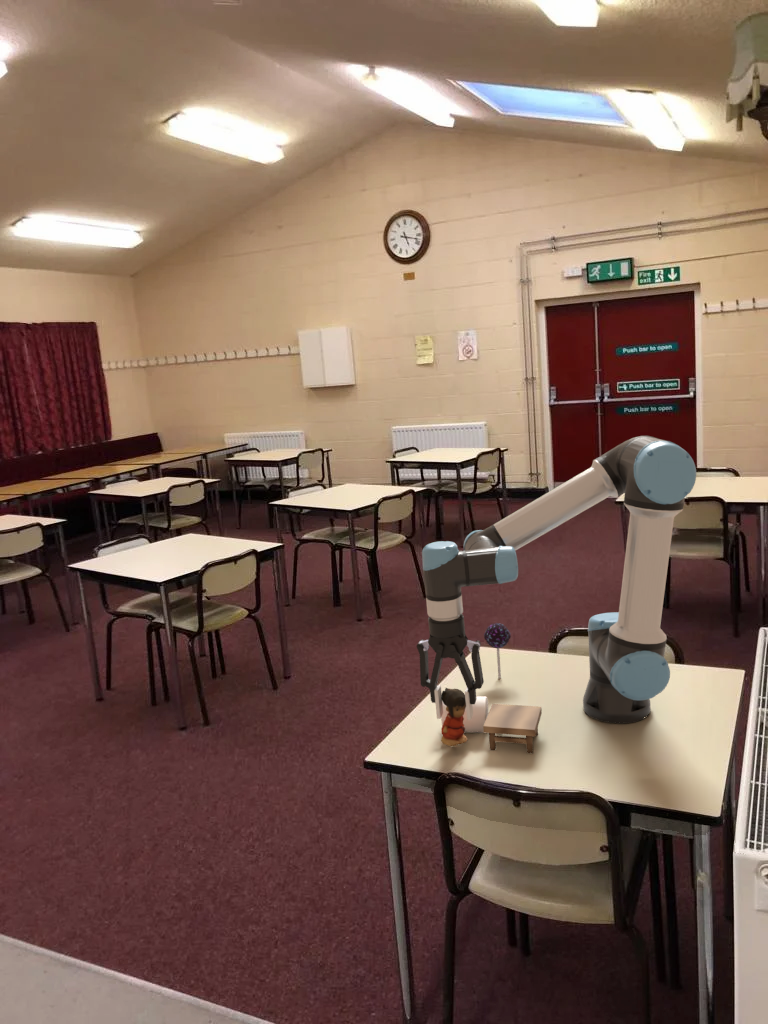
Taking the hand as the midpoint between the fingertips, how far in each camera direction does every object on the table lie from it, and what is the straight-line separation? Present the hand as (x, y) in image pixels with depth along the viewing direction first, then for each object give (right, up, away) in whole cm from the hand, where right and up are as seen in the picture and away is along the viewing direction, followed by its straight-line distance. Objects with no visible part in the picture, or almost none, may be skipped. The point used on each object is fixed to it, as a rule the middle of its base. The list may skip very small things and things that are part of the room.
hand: (455, 716), depth 171 cm
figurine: (0, -6, +1) cm, 6 cm away
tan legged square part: (+13, -6, +3) cm, 15 cm away
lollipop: (+15, 0, +37) cm, 40 cm away
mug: (+4, -6, +12) cm, 14 cm away
